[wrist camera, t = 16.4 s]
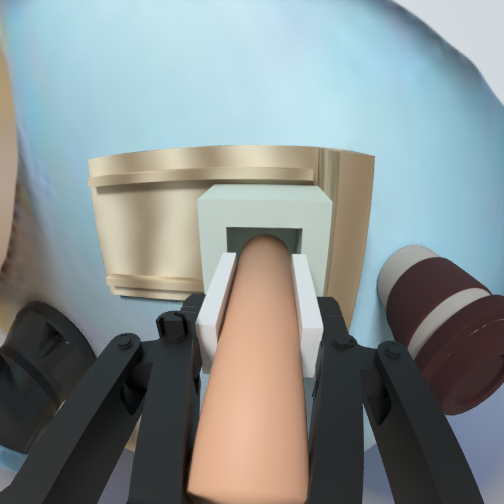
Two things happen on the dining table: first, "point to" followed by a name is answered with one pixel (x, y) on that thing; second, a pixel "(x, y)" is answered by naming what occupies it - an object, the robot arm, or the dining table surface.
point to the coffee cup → (445, 325)
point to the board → (186, 211)
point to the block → (265, 223)
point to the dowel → (254, 391)
